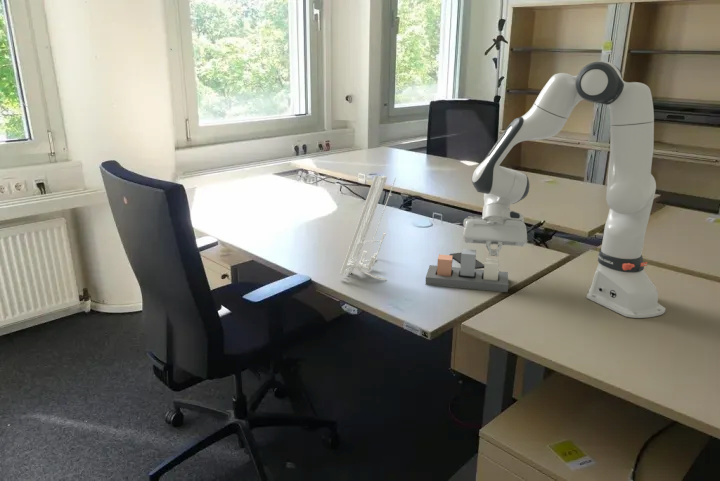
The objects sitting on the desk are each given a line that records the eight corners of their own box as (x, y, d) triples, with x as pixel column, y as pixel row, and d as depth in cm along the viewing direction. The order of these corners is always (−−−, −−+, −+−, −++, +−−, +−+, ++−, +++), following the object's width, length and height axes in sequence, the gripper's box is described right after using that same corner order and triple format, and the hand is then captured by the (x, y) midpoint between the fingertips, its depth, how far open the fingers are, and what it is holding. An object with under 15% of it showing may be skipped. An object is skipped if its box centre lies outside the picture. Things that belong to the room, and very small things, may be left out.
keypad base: (507, 279, 178) (507, 272, 177) (507, 292, 168) (508, 285, 167) (429, 271, 184) (429, 265, 183) (425, 284, 174) (425, 277, 173)
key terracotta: (451, 276, 179) (452, 255, 176) (450, 281, 175) (451, 260, 172) (438, 275, 180) (439, 254, 178) (436, 280, 176) (437, 259, 173)
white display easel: (371, 268, 197) (404, 179, 190) (402, 284, 191) (437, 193, 183) (336, 272, 177) (372, 173, 169) (370, 291, 170) (408, 188, 163)
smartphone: (468, 268, 186) (448, 253, 199) (468, 271, 186) (448, 256, 199) (486, 266, 188) (465, 251, 201) (486, 268, 188) (465, 254, 201)
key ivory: (497, 280, 176) (499, 259, 173) (497, 286, 171) (499, 264, 169) (483, 279, 177) (485, 258, 174) (482, 284, 172) (484, 263, 170)
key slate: (474, 271, 176) (476, 250, 174) (474, 276, 172) (475, 254, 170) (460, 270, 177) (462, 248, 175) (459, 275, 173) (461, 253, 171)
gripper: (463, 211, 176) (460, 248, 170) (528, 214, 171) (527, 253, 166) (464, 220, 182) (460, 257, 176) (526, 224, 177) (525, 261, 171)
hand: (493, 255), depth 171 cm, fingers closed
